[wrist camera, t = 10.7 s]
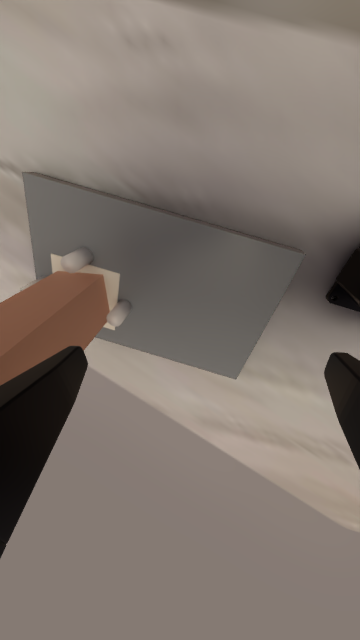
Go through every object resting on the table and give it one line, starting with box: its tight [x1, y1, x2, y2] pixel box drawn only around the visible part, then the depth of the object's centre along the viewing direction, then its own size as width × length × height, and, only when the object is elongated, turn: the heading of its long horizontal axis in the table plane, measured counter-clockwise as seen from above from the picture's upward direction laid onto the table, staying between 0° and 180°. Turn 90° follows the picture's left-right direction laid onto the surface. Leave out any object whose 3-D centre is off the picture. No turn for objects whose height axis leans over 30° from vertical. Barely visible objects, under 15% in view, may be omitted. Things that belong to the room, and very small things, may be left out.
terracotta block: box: [0, 271, 110, 385], centre depth 17 cm, size 4×4×12 cm
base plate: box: [20, 172, 306, 379], centre depth 20 cm, size 22×14×4 cm, turn 76°
